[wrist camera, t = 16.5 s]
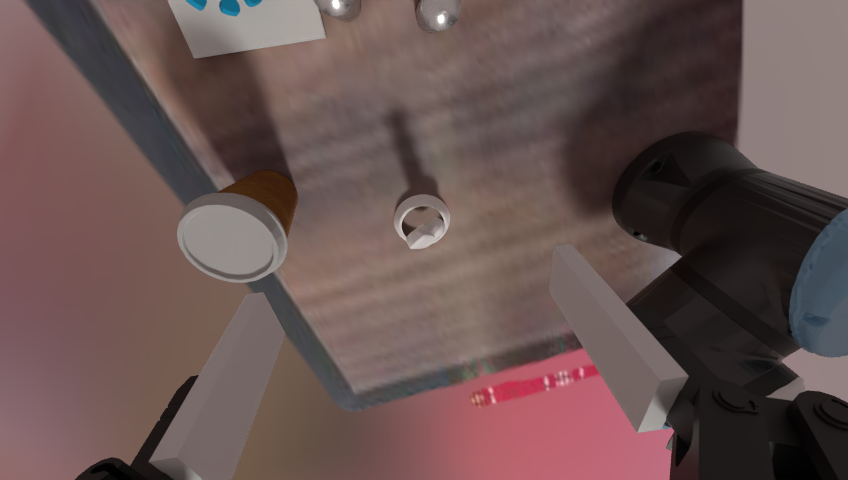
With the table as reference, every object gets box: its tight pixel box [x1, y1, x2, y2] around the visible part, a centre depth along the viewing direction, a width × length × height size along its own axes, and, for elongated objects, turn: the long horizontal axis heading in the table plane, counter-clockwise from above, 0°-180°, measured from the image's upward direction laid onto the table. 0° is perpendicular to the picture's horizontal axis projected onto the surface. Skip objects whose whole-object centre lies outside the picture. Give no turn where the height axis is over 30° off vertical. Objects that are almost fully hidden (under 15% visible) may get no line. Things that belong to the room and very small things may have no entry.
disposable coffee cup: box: [177, 170, 298, 283], centre depth 34 cm, size 10×10×12 cm
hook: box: [394, 194, 450, 249], centre depth 39 cm, size 8×12×7 cm
